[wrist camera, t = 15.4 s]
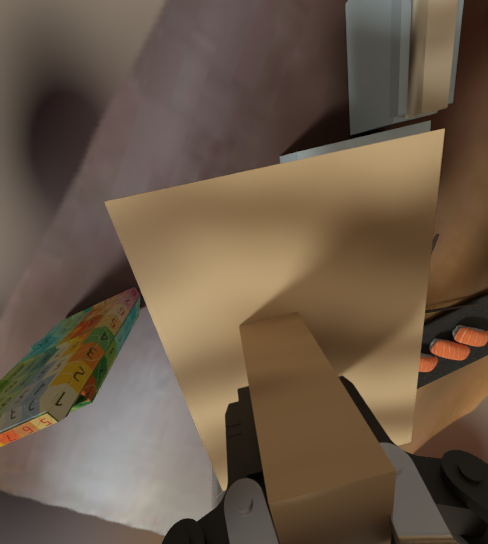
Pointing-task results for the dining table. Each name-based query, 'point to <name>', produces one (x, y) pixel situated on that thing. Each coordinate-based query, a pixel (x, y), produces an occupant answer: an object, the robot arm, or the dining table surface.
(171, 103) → the dining table surface
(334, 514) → the lid
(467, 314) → the sushi plate
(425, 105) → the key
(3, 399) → the puzzle game
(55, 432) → the dining table surface
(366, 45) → the toolbox
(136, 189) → the dining table surface
